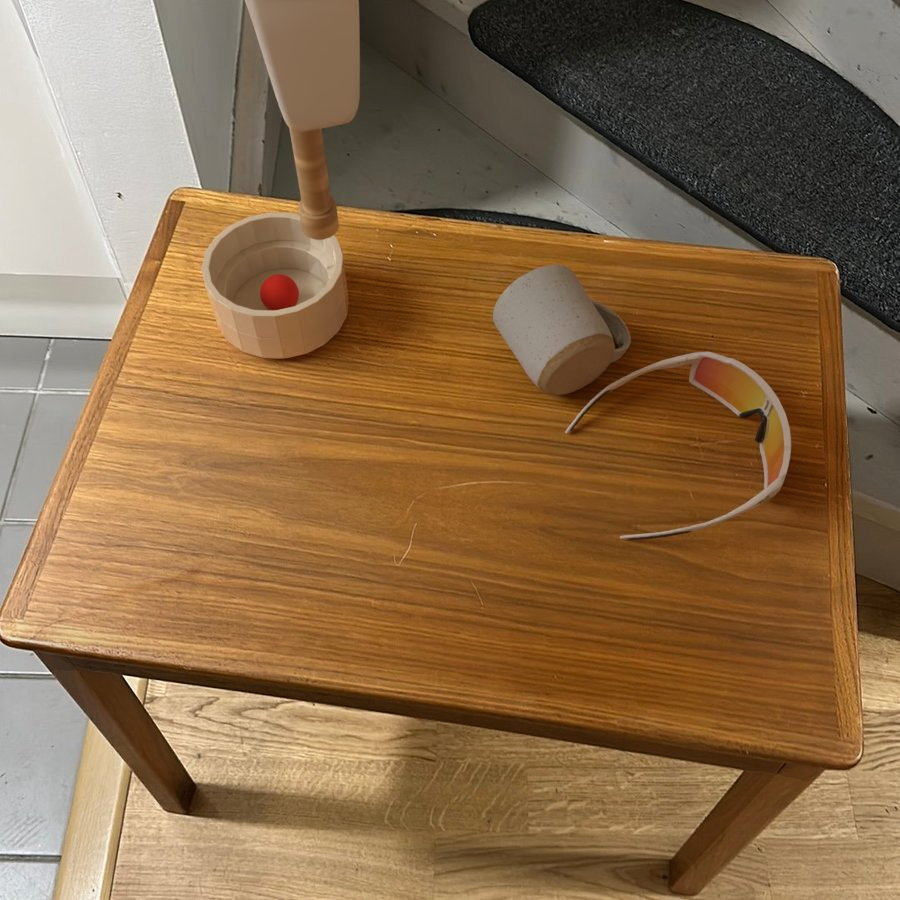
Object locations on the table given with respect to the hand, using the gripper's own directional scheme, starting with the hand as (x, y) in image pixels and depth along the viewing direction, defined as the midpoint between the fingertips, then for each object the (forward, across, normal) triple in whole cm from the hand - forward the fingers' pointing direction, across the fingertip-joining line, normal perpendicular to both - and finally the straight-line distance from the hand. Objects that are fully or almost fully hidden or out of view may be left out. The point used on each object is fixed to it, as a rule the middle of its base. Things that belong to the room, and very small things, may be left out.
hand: (298, 91), depth 55 cm
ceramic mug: (+25, +5, +18) cm, 32 cm away
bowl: (+25, -5, -4) cm, 26 cm away
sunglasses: (+25, +17, +23) cm, 38 cm away
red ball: (+23, -6, -4) cm, 24 cm away
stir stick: (+11, 0, 0) cm, 11 cm away
